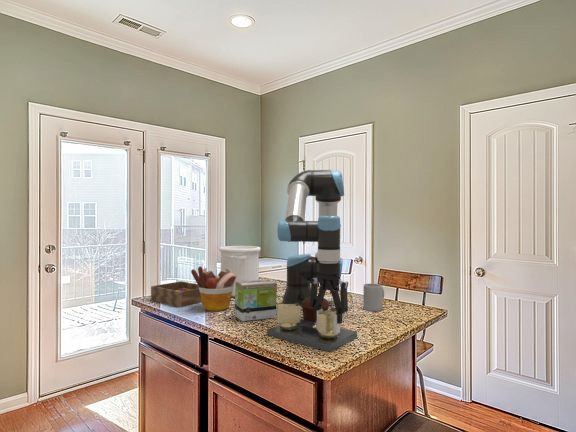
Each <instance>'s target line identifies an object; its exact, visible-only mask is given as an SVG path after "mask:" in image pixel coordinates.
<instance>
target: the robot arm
mask: <svg viewBox="0 0 576 432" xmlns="http://www.w3.org/2000/svg"><path fill="white" fill-rule="evenodd" d="M344 187H345V186H344V178H343V173H342V172H341V171H340V170H337V169H313V170H311V169H310V170H309V169H308V170H304V171H303V170H302V171H301V172H298V174H296V175H294V176H293V177H292V179H291V180H290V181H289V183H288V185H287V189H286V191H287V194H288V198H287V203H286V204H287V205H286V210H285V217H284V220H280V221H278V222H277V239H278V241H280V242H288V243H291V242H295V243H296V242H299V243H300V242H307V243H317V251H316V253H315V255H314V257H313V256H312V255H311V254H309V253H304V254H303V253H302V254H296V255H295V254H294V255H291V256H288V258H287V260H286V287H285V291H284V294H283V297H282V304H296V303H299V305H300V307H301V304H302V302H303V301H304V300H305V299H306V298H308V297H310V307H313V308H314V309H315V319H317V330H318V313H321V312H323V309H321V308H322V307H321V306H322V302H323V299H325V295H326V292H327V291H329V292H330V294H331V296H332V301H333V304H334V308H335V309H336V313H335V314H334V334H338V333H340V328H341V324H343V314H345V313H347V312H349V303H348V302H349V301H348V298H349V297H348V286H349V282H348V281H344V280H342V279H341V277H342V272H343V262H344V261H343V258H342V257H341V227H342V225H341V224H342V223H341V217H340V216H339V215H338V204H339V203H340V202H341V200H342V197H344V196H345V188H344ZM308 197H315V201H316V202H317V203H318V218H317V220H306V219H305V218H306V209H307V207H306V206H307V198H308ZM338 286H339V287H338ZM339 288H340V290H339ZM339 293H340V294H339Z"/></svg>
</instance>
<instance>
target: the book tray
mask: <svg viewBox="0 0 576 432" xmlns="http://www.w3.org/2000/svg"><path fill="white" fill-rule="evenodd" d="M179 288H181V289H182V288H187V289H192V290H187V291H181V292H180V291H175V290H176V289H179ZM150 301H152V302H156V303H161V304H164V305H168V306H171V307H172V306H173V307H175V308H180V309H181V308H183V307H185V308H186V307H189V306H193V304H194V305H197V304H202V301H201V296H200V291H199V287H198V284H197V283H192V282H189V281H188V282H187V281H182V280H181V281H174V282H169V283H168V282H167V283H162V284H157V285H151V286H150Z"/></svg>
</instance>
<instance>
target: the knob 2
mask: <svg viewBox="0 0 576 432" xmlns="http://www.w3.org/2000/svg"><path fill="white" fill-rule="evenodd" d="M335 313H336V309H335V307H331V308H328V310H326V311H324V312H321V313H318V332H319V336H320V337H322V338H327V339H332V338H336V337H337V334H334V314H335Z"/></svg>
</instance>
